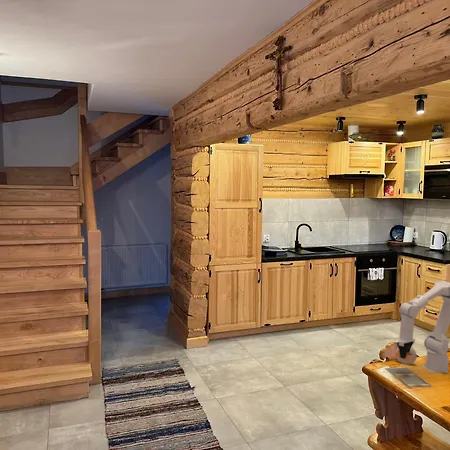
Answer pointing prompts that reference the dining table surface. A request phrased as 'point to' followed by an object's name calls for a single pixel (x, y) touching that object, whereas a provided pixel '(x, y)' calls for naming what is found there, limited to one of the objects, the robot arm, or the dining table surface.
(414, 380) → the mat
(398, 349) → the donut
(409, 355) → the reddish brown block
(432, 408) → the dining table surface
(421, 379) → the frame
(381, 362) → the dining table surface
